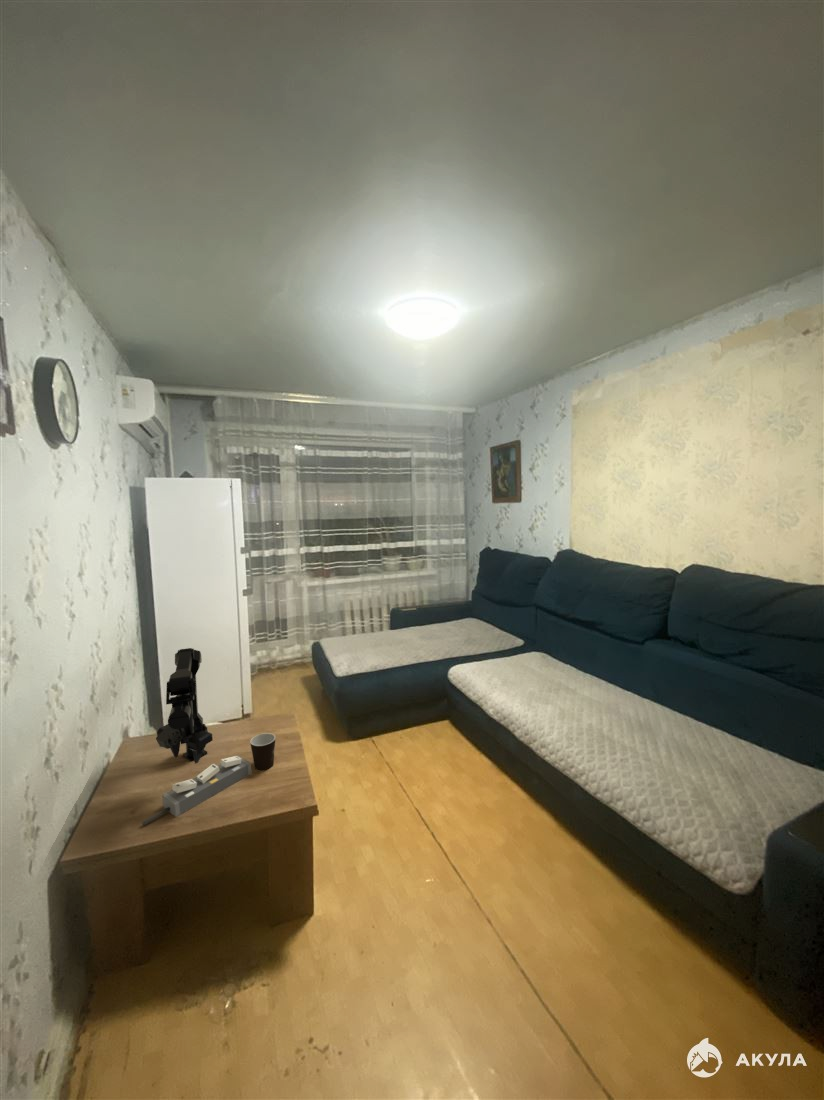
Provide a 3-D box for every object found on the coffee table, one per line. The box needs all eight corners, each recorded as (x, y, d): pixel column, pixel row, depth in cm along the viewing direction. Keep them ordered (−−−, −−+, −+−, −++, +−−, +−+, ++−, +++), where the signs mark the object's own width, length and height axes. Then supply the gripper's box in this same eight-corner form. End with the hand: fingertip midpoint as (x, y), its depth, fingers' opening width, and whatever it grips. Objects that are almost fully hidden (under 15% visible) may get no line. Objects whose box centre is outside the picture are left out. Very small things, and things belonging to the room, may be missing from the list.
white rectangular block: (172, 789, 138) (173, 783, 138) (190, 784, 143) (191, 779, 143) (177, 793, 136) (178, 787, 136) (195, 787, 141) (196, 782, 141)
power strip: (136, 820, 132) (135, 807, 132) (237, 766, 159) (237, 755, 159) (149, 832, 127) (148, 819, 127) (251, 773, 154) (250, 762, 154)
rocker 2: (198, 780, 145) (196, 776, 144) (214, 767, 149) (213, 763, 149) (203, 783, 143) (201, 779, 142) (219, 770, 147) (218, 766, 147)
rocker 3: (219, 764, 151) (220, 759, 151) (235, 760, 156) (236, 755, 156) (225, 767, 149) (226, 762, 149) (240, 763, 154) (241, 758, 154)
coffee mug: (269, 774, 154) (267, 747, 153) (246, 771, 156) (245, 744, 155) (285, 755, 166) (283, 730, 164) (264, 753, 167) (262, 728, 166)
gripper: (139, 720, 138) (143, 767, 140) (181, 732, 131) (185, 781, 132) (171, 705, 148) (174, 748, 150) (212, 715, 141) (215, 761, 143)
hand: (186, 759), depth 143 cm, fingers open, 9 cm apart
